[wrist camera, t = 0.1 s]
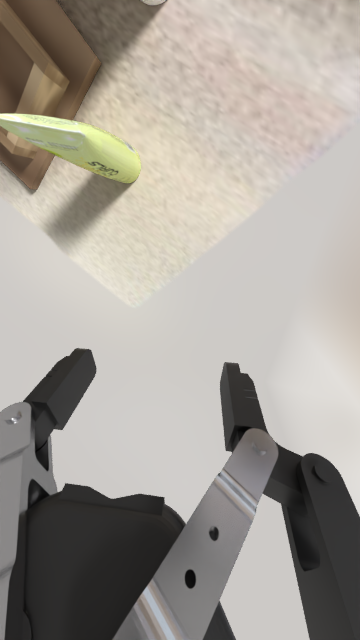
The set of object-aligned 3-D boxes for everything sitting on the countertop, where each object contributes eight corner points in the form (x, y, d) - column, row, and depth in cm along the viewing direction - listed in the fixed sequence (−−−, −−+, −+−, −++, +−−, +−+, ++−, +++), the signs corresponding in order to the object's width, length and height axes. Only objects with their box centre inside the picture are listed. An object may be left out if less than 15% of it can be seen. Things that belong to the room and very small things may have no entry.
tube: (122, 193, 32) (36, 185, 16) (101, 160, 30) (-24, 112, 14) (148, 170, 30) (80, 132, 14) (127, 133, 28) (18, 38, 12)
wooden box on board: (-6, -86, 20) (-69, -172, 15) (101, 63, 25) (77, 31, 20) (-49, 105, 28) (-98, 87, 24) (37, 189, 33) (9, 187, 28)
